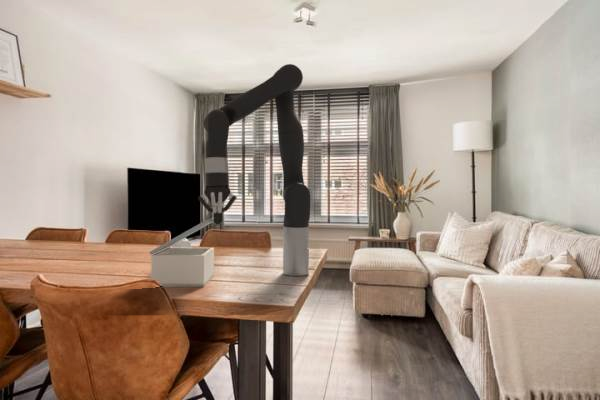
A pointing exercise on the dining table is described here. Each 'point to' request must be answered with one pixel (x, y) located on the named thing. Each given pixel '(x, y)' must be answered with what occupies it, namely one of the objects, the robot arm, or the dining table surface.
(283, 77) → the robot arm
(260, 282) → the dining table surface
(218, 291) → the dining table surface
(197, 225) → the carton lid
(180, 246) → the white rounded piece
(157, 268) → the carton
